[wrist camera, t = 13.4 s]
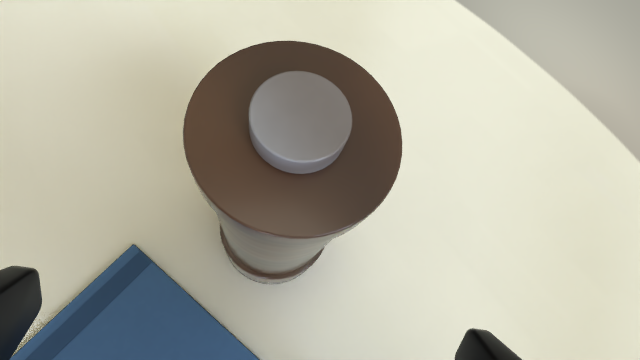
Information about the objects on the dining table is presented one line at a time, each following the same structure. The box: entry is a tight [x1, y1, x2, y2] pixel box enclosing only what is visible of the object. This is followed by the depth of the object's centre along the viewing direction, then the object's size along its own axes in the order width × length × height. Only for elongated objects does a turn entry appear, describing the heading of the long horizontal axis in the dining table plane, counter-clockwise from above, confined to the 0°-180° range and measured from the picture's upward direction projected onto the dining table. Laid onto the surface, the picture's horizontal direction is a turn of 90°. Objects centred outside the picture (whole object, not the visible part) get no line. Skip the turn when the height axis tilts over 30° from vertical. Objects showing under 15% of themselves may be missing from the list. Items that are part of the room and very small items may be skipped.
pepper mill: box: [183, 41, 402, 284], centre depth 14 cm, size 5×5×12 cm
